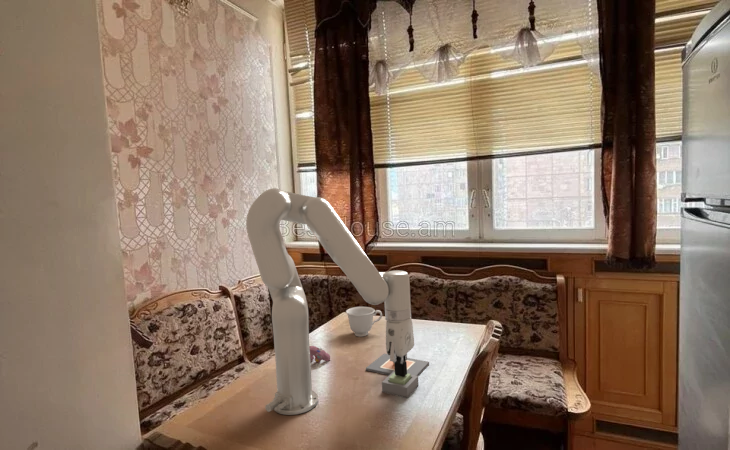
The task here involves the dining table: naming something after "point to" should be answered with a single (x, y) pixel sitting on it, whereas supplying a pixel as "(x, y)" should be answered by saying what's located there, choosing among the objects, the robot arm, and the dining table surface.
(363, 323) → the teacup
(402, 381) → the button
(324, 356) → the video game controller
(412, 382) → the button housing
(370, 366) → the picture board
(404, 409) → the dining table surface
